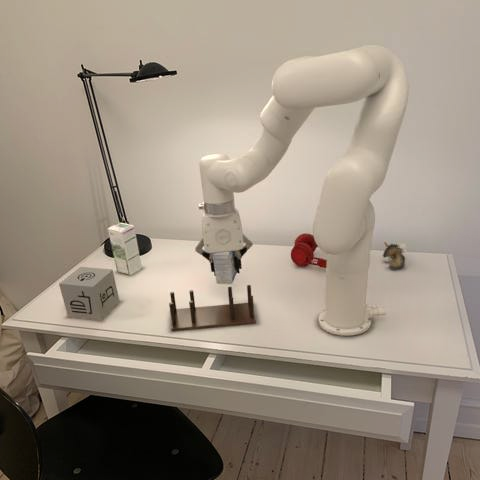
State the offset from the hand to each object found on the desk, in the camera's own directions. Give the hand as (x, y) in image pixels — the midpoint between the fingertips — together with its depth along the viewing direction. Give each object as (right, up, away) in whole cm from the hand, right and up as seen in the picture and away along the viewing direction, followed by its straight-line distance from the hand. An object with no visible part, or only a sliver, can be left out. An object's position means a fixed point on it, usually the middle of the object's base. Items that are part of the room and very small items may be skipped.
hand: (226, 271), depth 137 cm
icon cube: (-36, -10, +2) cm, 37 cm away
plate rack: (-3, -12, -5) cm, 14 cm away
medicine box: (0, -2, +1) cm, 2 cm away
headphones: (+29, +5, +19) cm, 35 cm away
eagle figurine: (+49, +4, +15) cm, 51 cm away
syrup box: (-31, +2, +22) cm, 38 cm away
